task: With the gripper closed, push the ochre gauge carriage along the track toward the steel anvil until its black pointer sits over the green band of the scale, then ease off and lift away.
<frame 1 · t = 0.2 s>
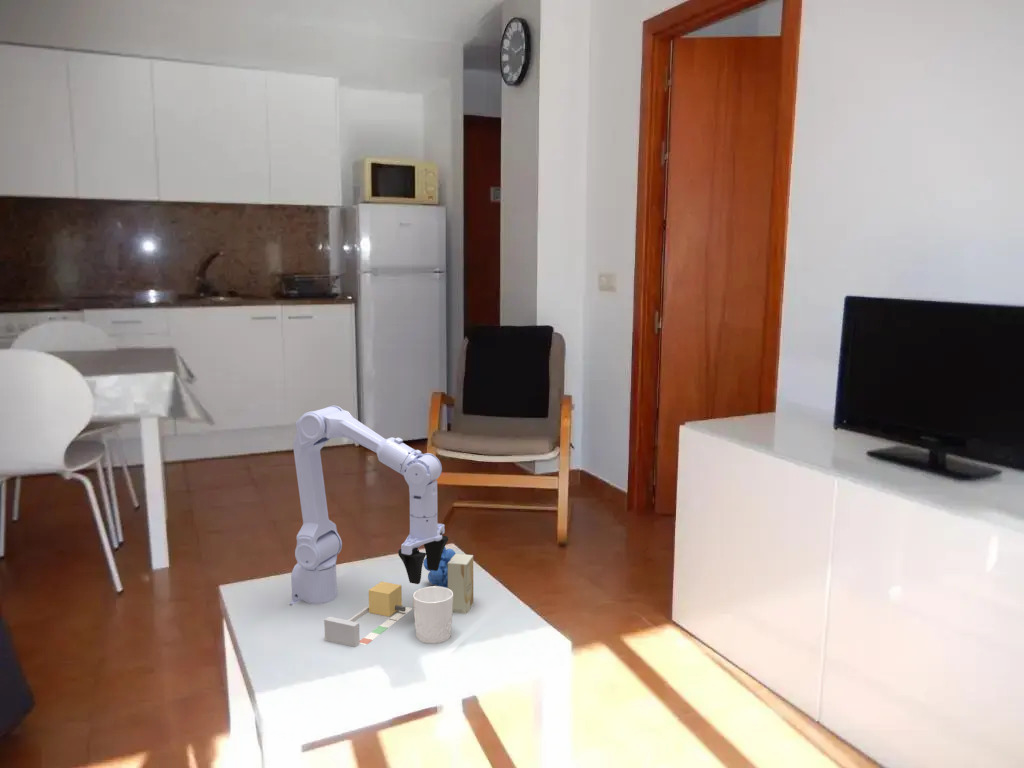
hand: (424, 576, 160), 10 cm above the table, tool pointing down, fingers open, 7 cm apart
gauge track: (370, 627, 158), on the table
white cup: (433, 642, 152), on the table
skincare box: (461, 613, 165), on the table
grapes: (441, 596, 174), on the table
carriage: (389, 599, 162), point 4 cm above the table, slide at 0.0 cm
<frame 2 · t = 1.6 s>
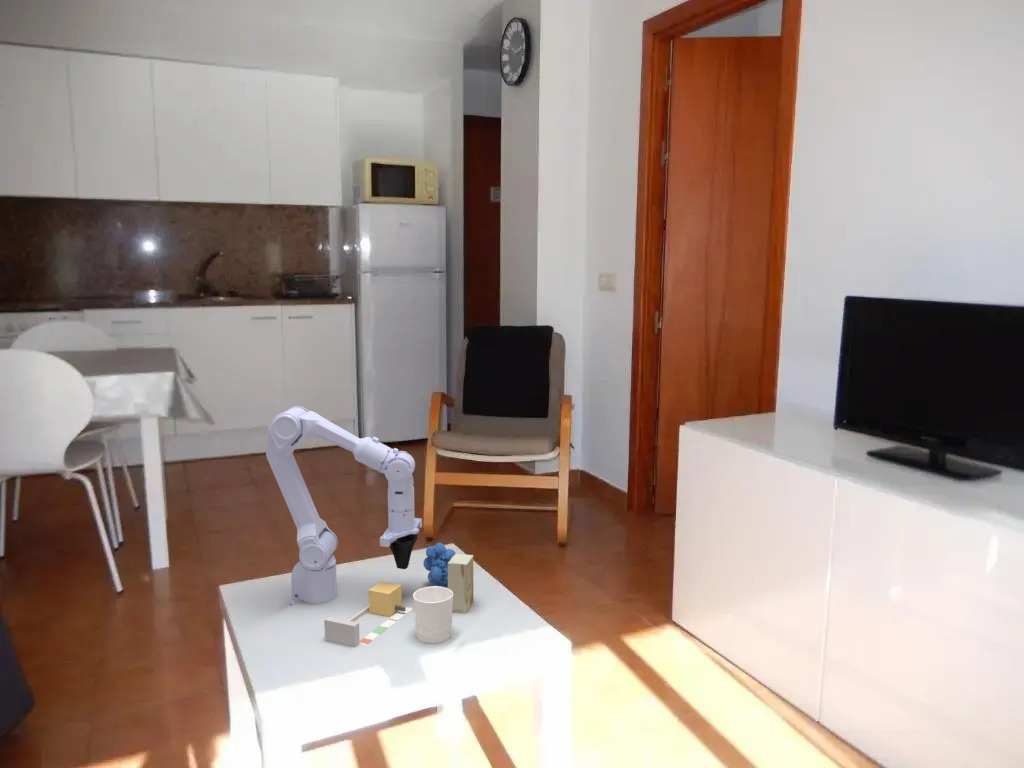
hand: (402, 567, 169), 8 cm above the table, tool pointing down, fingers closed
nothing on the table moved.
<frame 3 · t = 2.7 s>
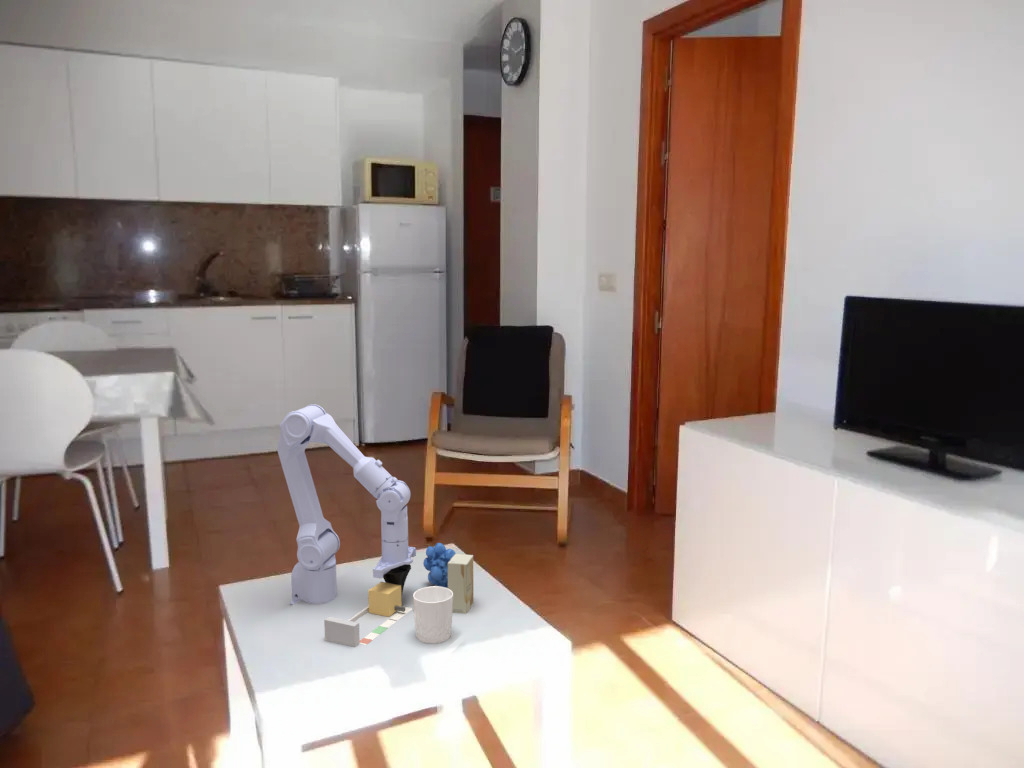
hand: (395, 598, 167), 2 cm above the table, tool pointing down, fingers closed
carriage: (389, 599, 162), point 4 cm above the table, slide at 0.1 cm, touching gripper
everything else where it was.
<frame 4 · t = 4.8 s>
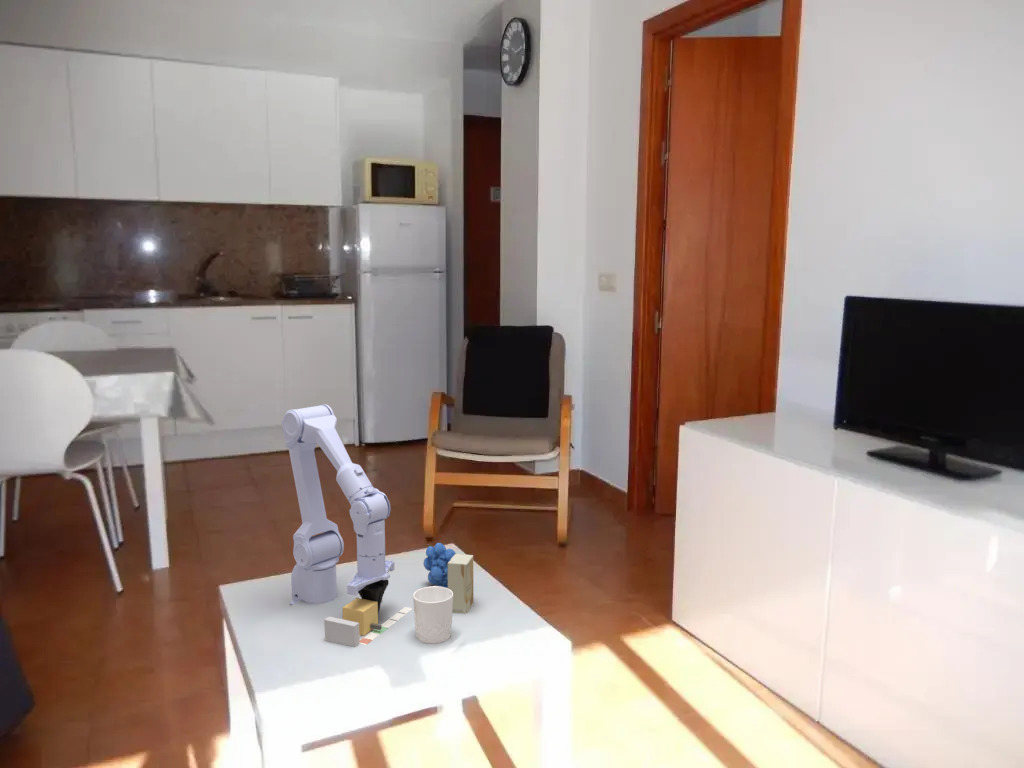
hand: (372, 614, 159), 2 cm above the table, tool pointing down, fingers closed
carriage: (365, 617, 154), point 4 cm above the table, slide at 9.3 cm, touching gripper
everything else where it was.
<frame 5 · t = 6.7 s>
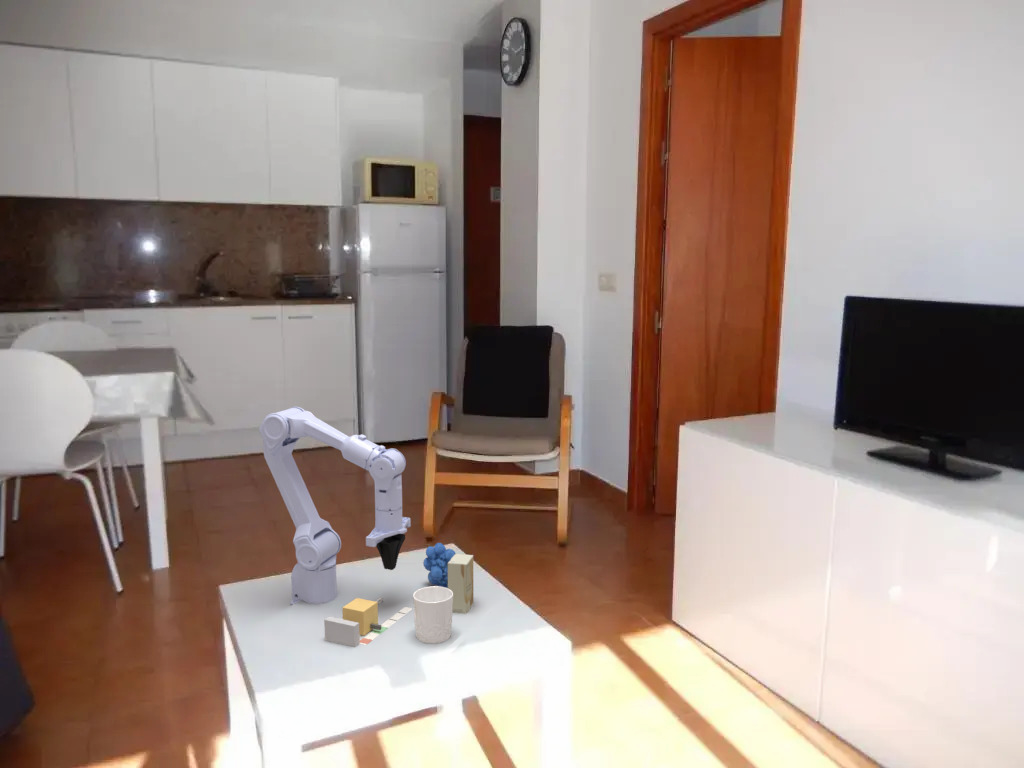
hand: (389, 568, 164), 10 cm above the table, tool pointing down, fingers closed
carriage: (365, 617, 154), point 4 cm above the table, slide at 9.3 cm
everything else where it was.
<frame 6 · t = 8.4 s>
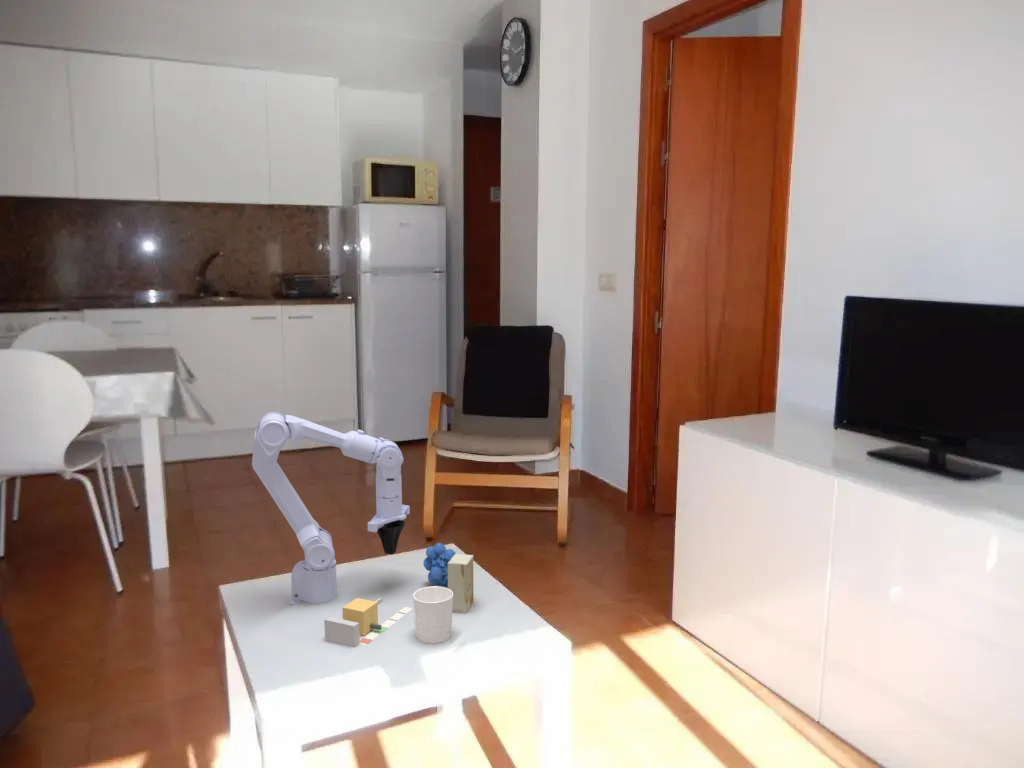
hand: (390, 553, 173), 10 cm above the table, tool pointing down, fingers closed
nothing on the table moved.
at the end: carriage slide at 9.3 cm; carriage touching nothing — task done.
